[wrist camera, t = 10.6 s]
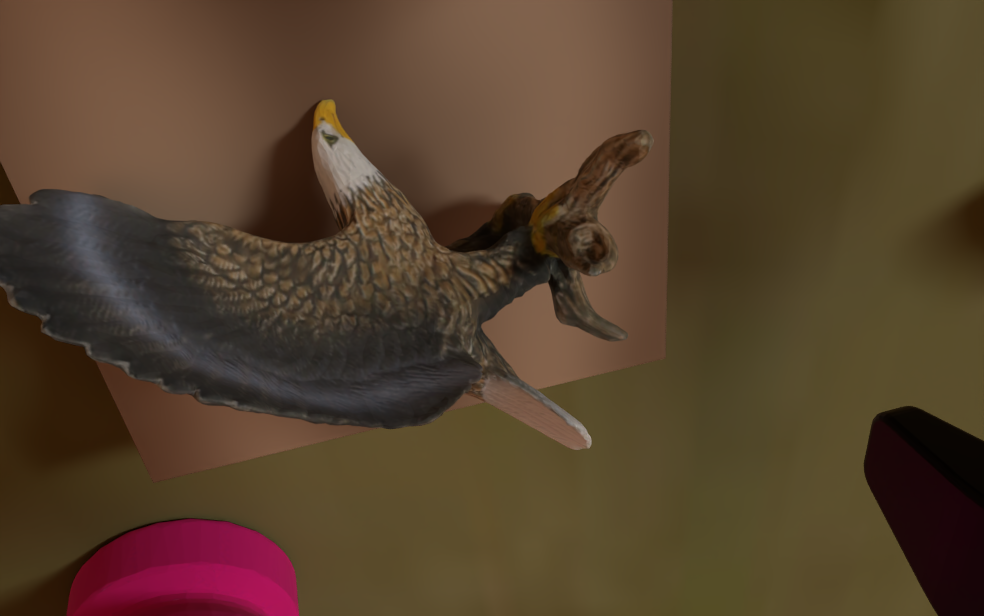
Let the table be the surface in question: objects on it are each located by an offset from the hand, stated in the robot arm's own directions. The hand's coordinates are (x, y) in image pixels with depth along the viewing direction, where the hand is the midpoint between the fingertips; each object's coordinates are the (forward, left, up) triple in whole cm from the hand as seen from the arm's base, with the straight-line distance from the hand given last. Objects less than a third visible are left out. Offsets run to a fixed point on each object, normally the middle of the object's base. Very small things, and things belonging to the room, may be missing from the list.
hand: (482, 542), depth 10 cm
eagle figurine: (+1, +1, -10) cm, 10 cm away
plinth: (0, +1, -12) cm, 12 cm away
